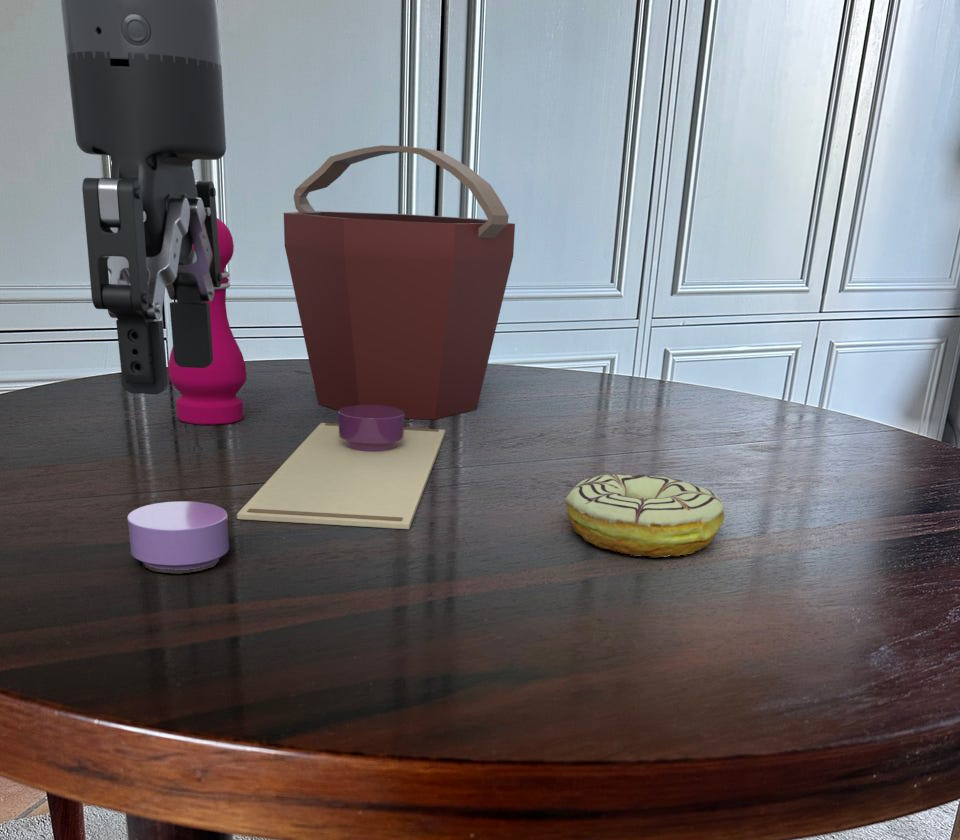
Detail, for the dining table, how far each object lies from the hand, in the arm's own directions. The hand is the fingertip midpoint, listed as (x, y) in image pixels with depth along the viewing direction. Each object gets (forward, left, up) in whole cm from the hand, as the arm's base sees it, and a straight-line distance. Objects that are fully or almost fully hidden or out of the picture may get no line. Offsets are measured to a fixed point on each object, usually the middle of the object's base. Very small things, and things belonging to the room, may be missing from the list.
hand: (171, 378), depth 58 cm
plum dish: (+7, +31, -11) cm, 33 cm away
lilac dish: (0, 0, -11) cm, 11 cm away
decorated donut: (+29, +10, -11) cm, 32 cm away
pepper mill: (-10, +40, -11) cm, 43 cm away
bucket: (+7, +53, -11) cm, 54 cm away
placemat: (+7, +24, -11) cm, 27 cm away
